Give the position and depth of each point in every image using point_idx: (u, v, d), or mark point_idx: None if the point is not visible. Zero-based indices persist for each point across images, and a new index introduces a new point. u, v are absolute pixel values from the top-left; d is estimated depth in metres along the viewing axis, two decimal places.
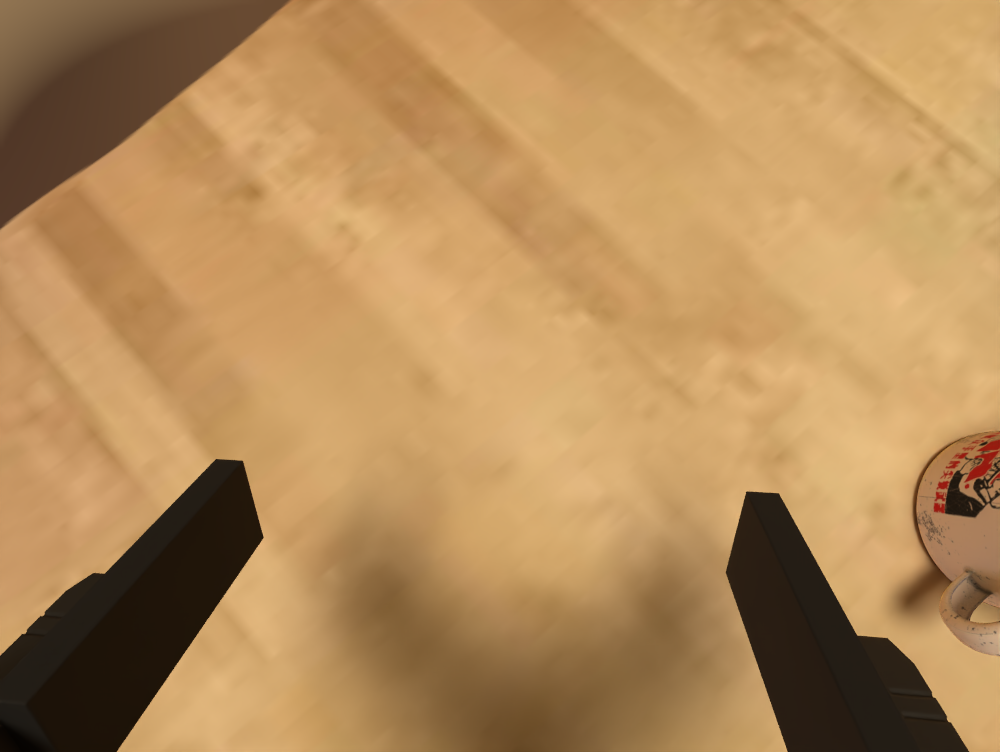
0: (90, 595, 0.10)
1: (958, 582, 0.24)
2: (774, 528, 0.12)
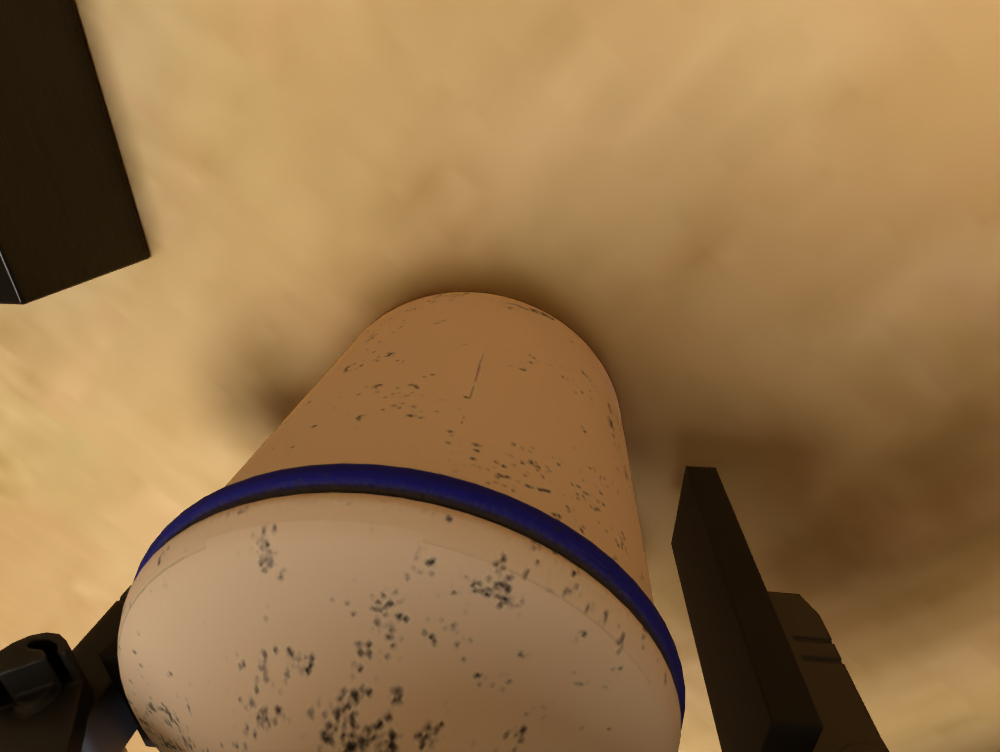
0: None
1: None
2: (706, 498, 0.13)
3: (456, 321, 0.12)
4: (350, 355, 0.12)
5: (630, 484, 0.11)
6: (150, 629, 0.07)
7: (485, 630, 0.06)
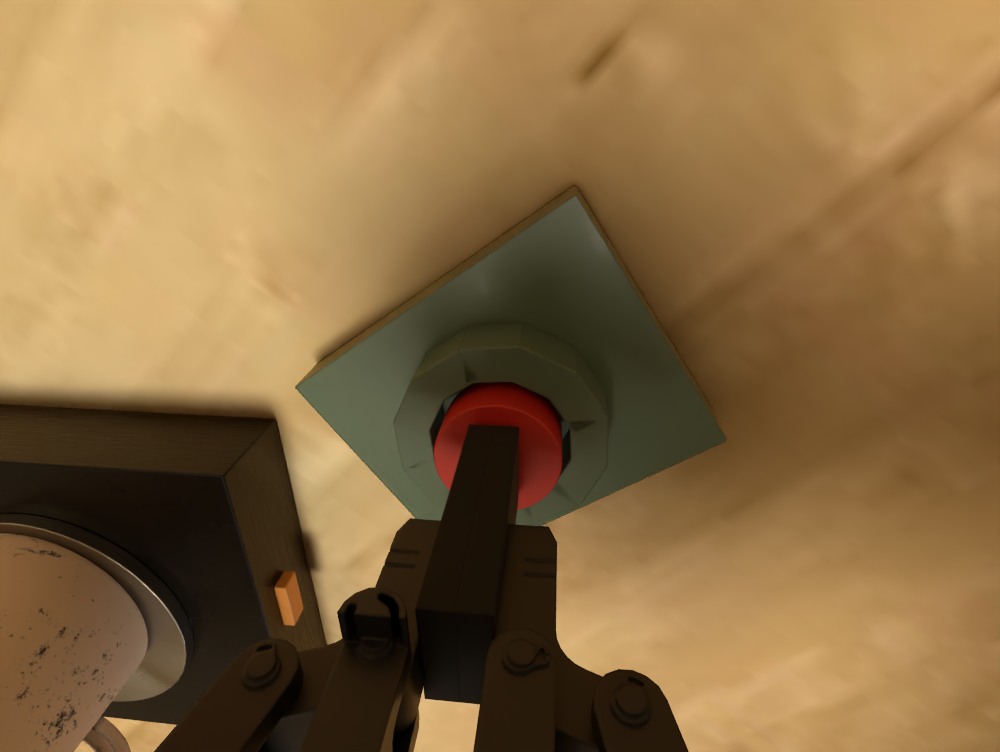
0: (443, 531, 0.12)
1: (93, 748, 0.22)
2: (496, 450, 0.15)
3: None
4: None
5: (27, 700, 0.17)
6: None
7: None
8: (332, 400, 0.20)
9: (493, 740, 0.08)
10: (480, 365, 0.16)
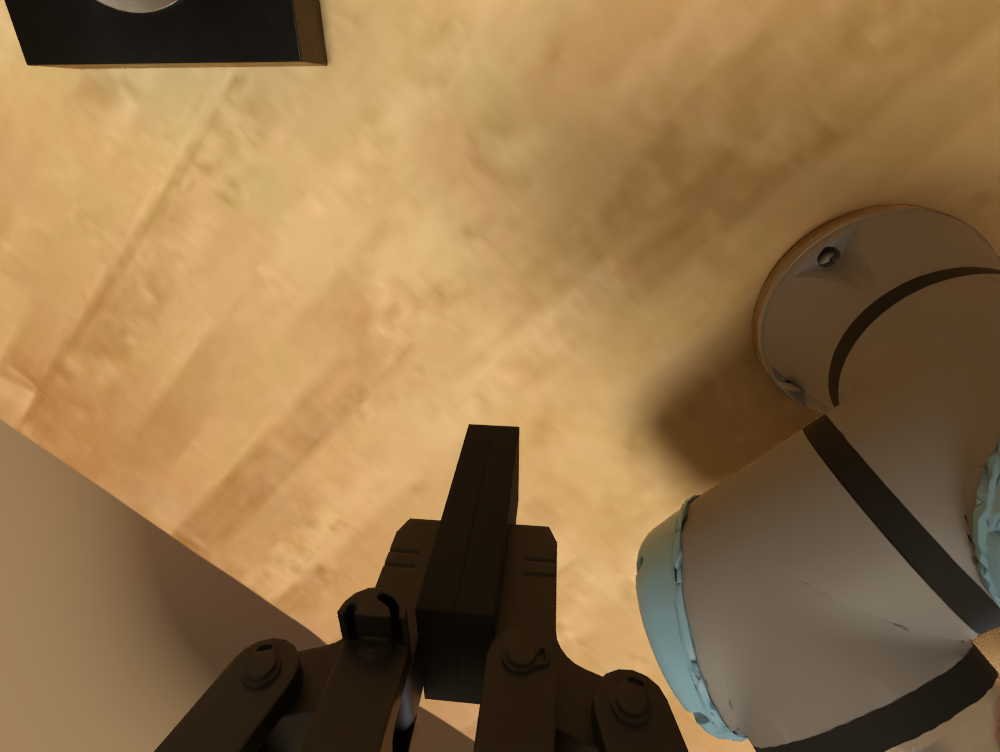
0: (443, 531, 0.12)
1: None
2: (497, 450, 0.15)
3: None
4: None
5: None
6: None
7: None
8: None
9: (493, 740, 0.08)
10: None
